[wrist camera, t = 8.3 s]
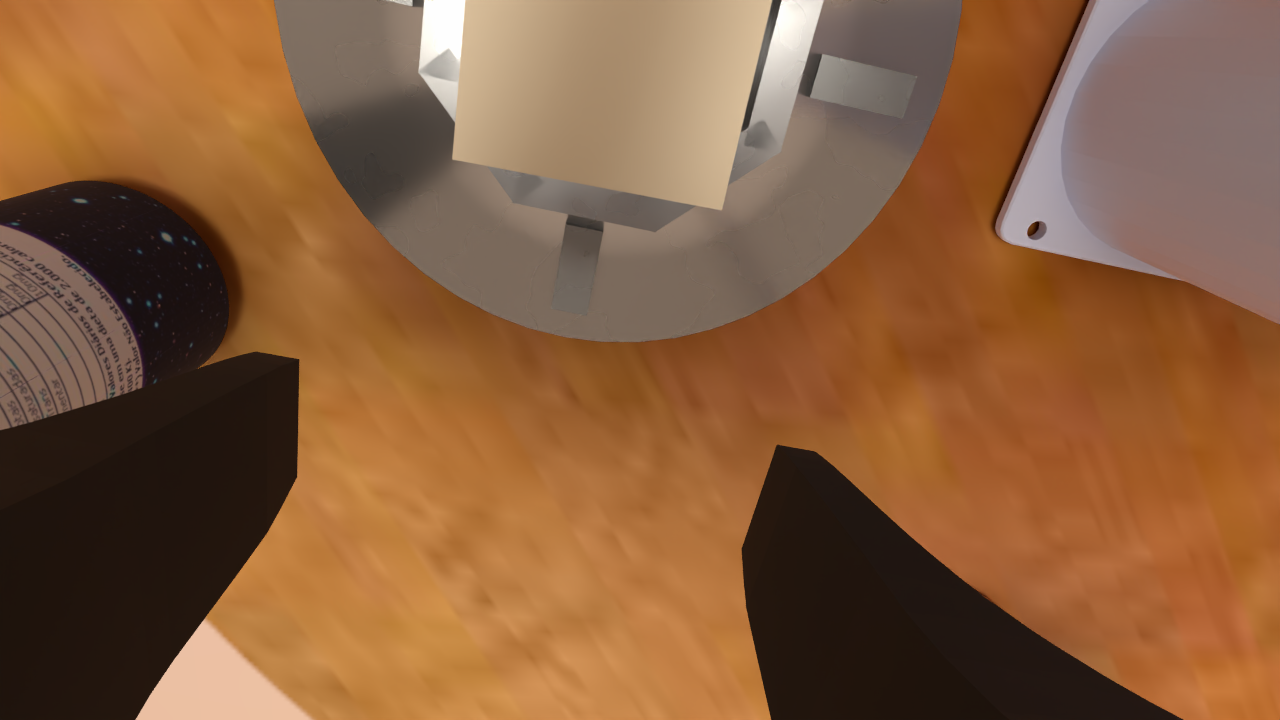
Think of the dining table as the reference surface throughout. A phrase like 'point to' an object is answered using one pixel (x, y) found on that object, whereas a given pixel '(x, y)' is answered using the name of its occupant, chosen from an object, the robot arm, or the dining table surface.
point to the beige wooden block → (610, 91)
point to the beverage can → (99, 298)
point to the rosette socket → (614, 220)
